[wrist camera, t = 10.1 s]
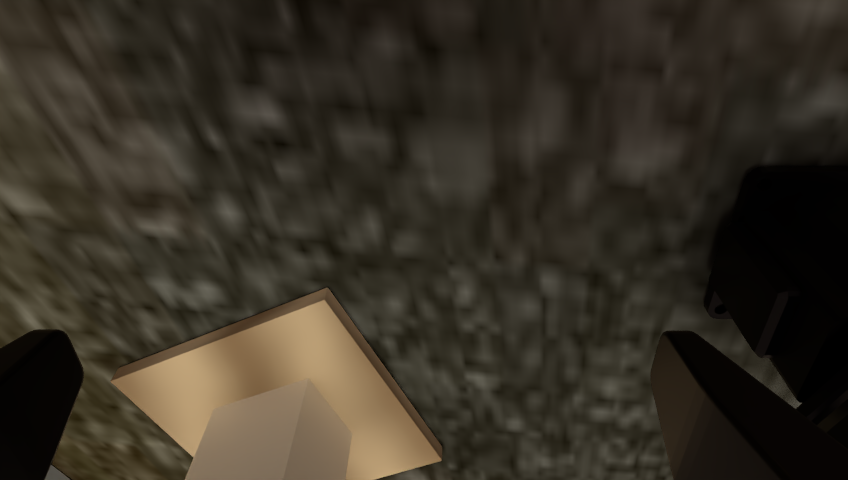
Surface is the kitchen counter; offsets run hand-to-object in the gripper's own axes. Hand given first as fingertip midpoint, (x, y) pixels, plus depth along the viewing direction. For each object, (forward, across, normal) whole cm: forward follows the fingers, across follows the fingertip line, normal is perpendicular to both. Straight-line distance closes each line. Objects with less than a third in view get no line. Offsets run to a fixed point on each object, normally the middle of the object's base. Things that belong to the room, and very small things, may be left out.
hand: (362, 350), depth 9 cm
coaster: (+12, +6, +16) cm, 20 cm away
